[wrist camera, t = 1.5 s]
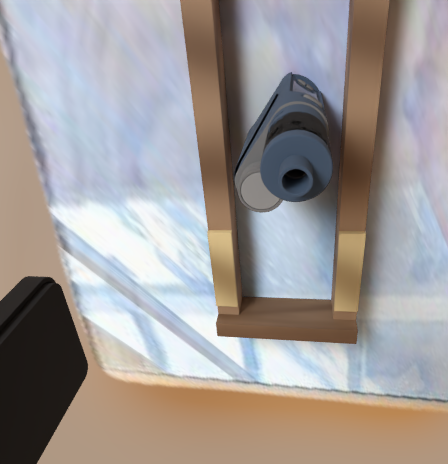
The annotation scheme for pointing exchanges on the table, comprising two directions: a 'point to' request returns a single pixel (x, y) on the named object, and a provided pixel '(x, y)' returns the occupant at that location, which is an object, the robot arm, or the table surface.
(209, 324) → the table surface
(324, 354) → the table surface
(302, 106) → the vaping device
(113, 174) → the table surface
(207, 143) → the rail channel
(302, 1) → the table surface
